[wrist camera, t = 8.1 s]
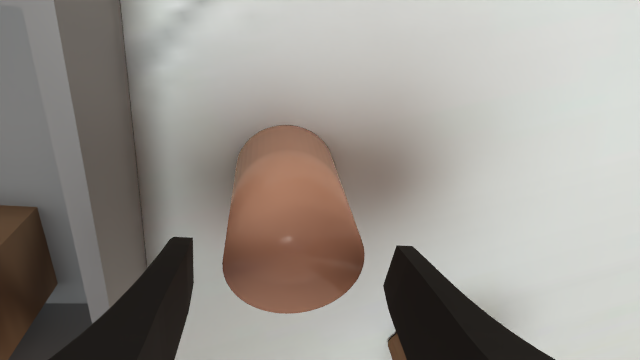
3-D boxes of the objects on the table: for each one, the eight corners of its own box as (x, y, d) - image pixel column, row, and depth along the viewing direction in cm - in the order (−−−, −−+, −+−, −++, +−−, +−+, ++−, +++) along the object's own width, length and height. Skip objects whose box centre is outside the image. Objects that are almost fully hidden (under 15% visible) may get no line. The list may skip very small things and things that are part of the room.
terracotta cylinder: (324, 212, 20) (349, 313, 14) (234, 207, 20) (220, 313, 14) (340, 130, 18) (378, 210, 12) (238, 120, 17) (224, 202, 11)
